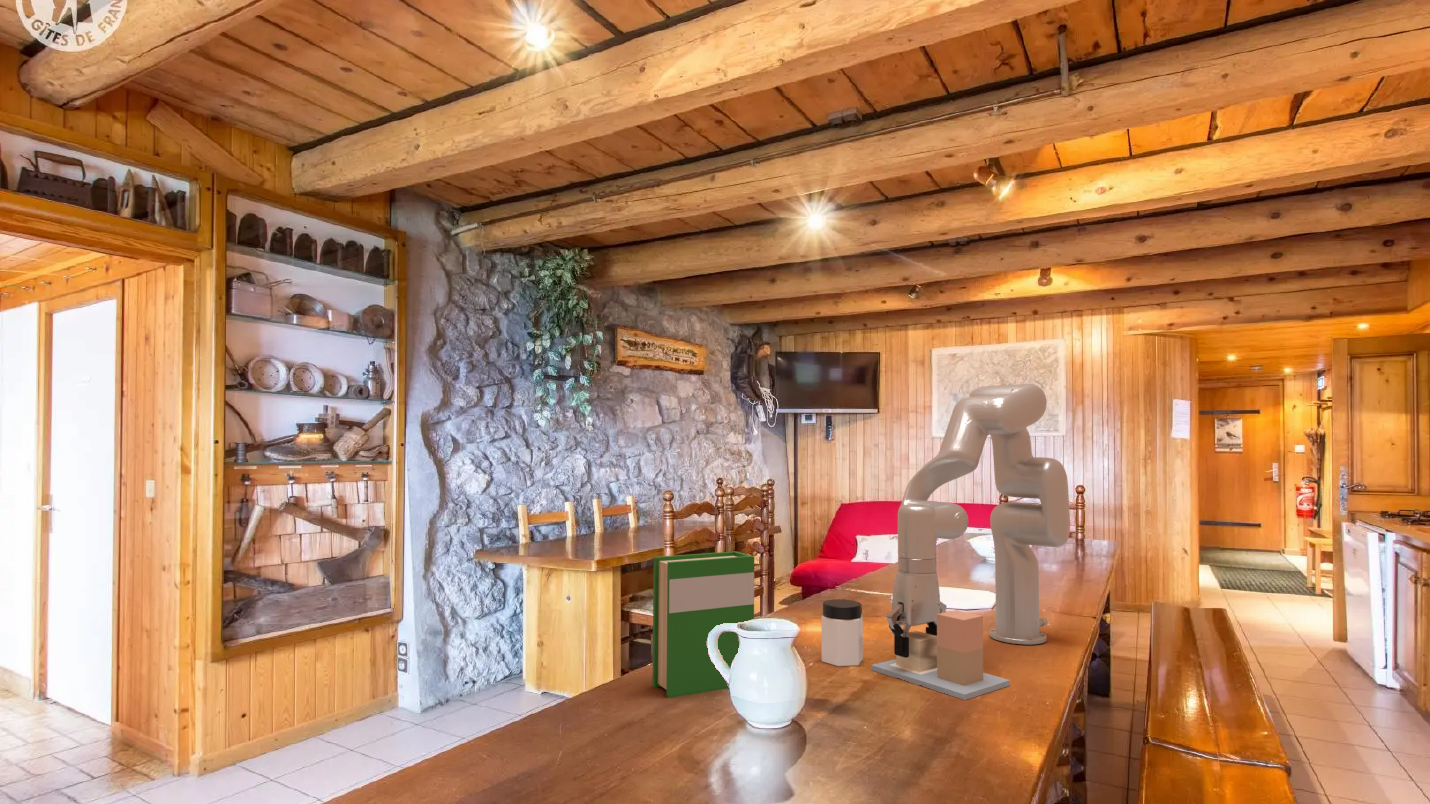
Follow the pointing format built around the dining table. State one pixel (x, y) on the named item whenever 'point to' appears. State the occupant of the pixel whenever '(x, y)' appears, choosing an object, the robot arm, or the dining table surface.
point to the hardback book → (697, 617)
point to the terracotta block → (960, 631)
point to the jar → (842, 632)
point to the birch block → (920, 652)
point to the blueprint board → (941, 683)
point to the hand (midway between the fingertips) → (917, 652)
